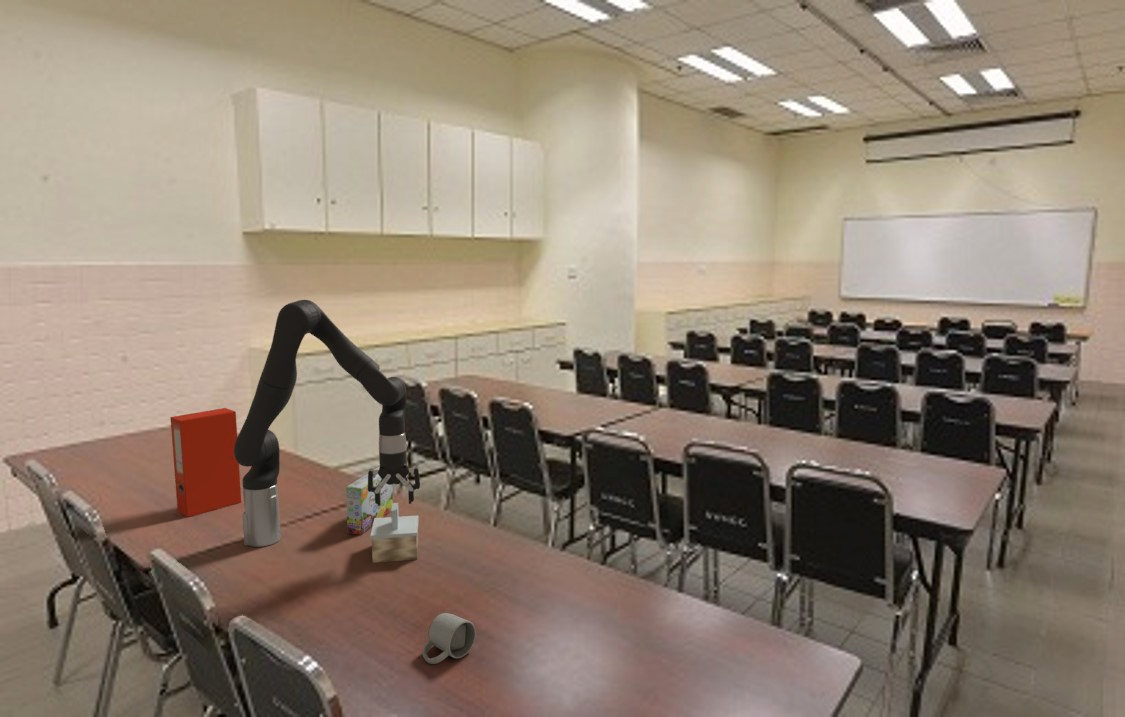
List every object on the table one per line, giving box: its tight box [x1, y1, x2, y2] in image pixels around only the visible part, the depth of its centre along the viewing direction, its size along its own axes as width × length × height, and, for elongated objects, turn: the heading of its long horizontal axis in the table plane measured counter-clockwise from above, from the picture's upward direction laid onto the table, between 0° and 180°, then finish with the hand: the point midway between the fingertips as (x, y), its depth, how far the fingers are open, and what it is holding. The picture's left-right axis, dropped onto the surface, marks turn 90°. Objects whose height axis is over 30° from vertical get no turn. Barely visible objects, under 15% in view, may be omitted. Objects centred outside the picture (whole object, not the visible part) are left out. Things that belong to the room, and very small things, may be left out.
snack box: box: [345, 466, 394, 536], centre depth 213 cm, size 21×6×15 cm, turn 168°
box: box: [371, 534, 419, 564], centre depth 192 cm, size 12×12×7 cm
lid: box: [370, 502, 420, 540], centre depth 191 cm, size 13×13×8 cm
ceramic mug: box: [422, 612, 477, 665], centre depth 143 cm, size 11×8×8 cm
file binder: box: [169, 407, 242, 518], centre depth 222 cm, size 8×17×32 cm, turn 141°
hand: (394, 504), depth 190 cm, fingers open, 8 cm apart
